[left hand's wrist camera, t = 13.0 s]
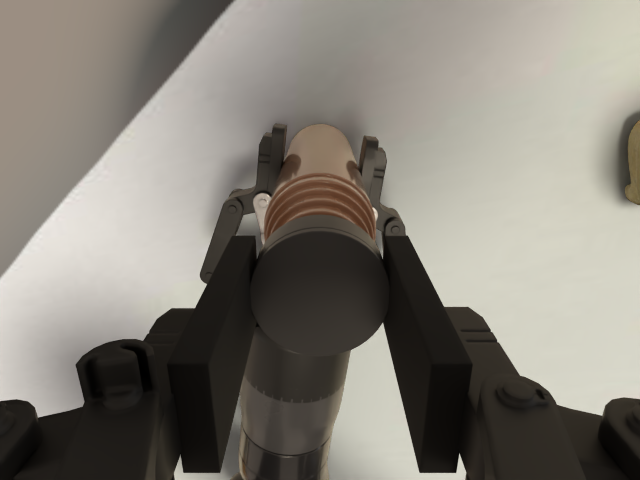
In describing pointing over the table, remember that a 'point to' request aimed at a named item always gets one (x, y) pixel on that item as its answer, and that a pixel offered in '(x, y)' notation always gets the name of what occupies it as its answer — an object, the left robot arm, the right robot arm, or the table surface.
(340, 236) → the cap
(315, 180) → the bottle
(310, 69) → the table surface
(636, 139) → the sculpture
